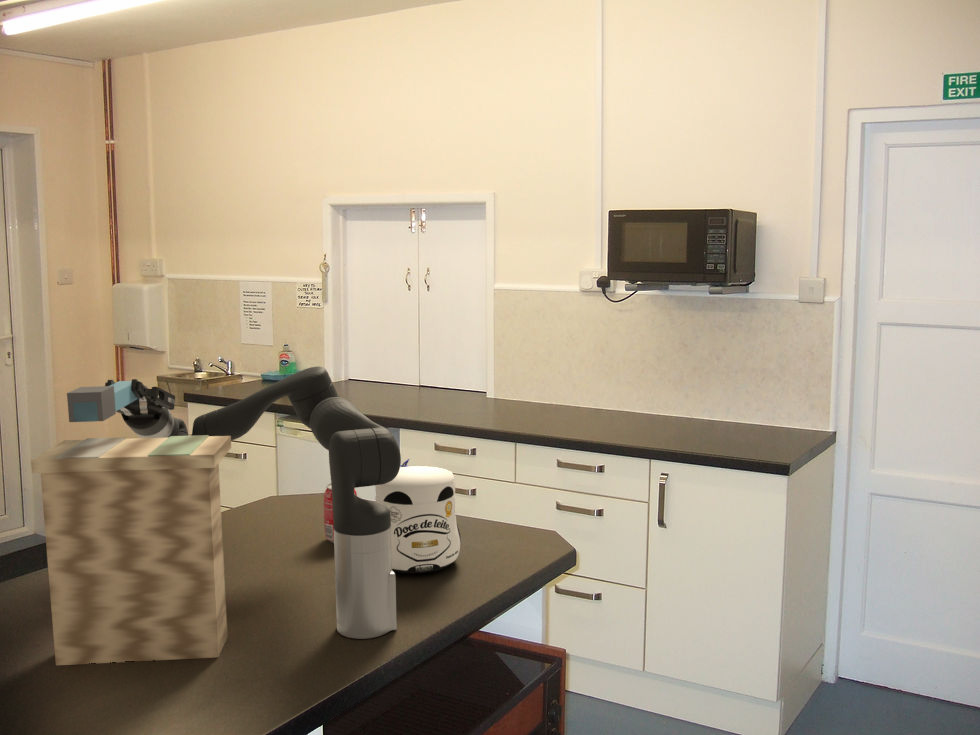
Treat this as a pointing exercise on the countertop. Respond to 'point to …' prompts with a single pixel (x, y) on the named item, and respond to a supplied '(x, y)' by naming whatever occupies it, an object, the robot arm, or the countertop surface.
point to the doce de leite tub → (421, 519)
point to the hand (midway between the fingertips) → (121, 384)
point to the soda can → (329, 513)
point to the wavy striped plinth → (135, 548)
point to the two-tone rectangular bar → (98, 401)
